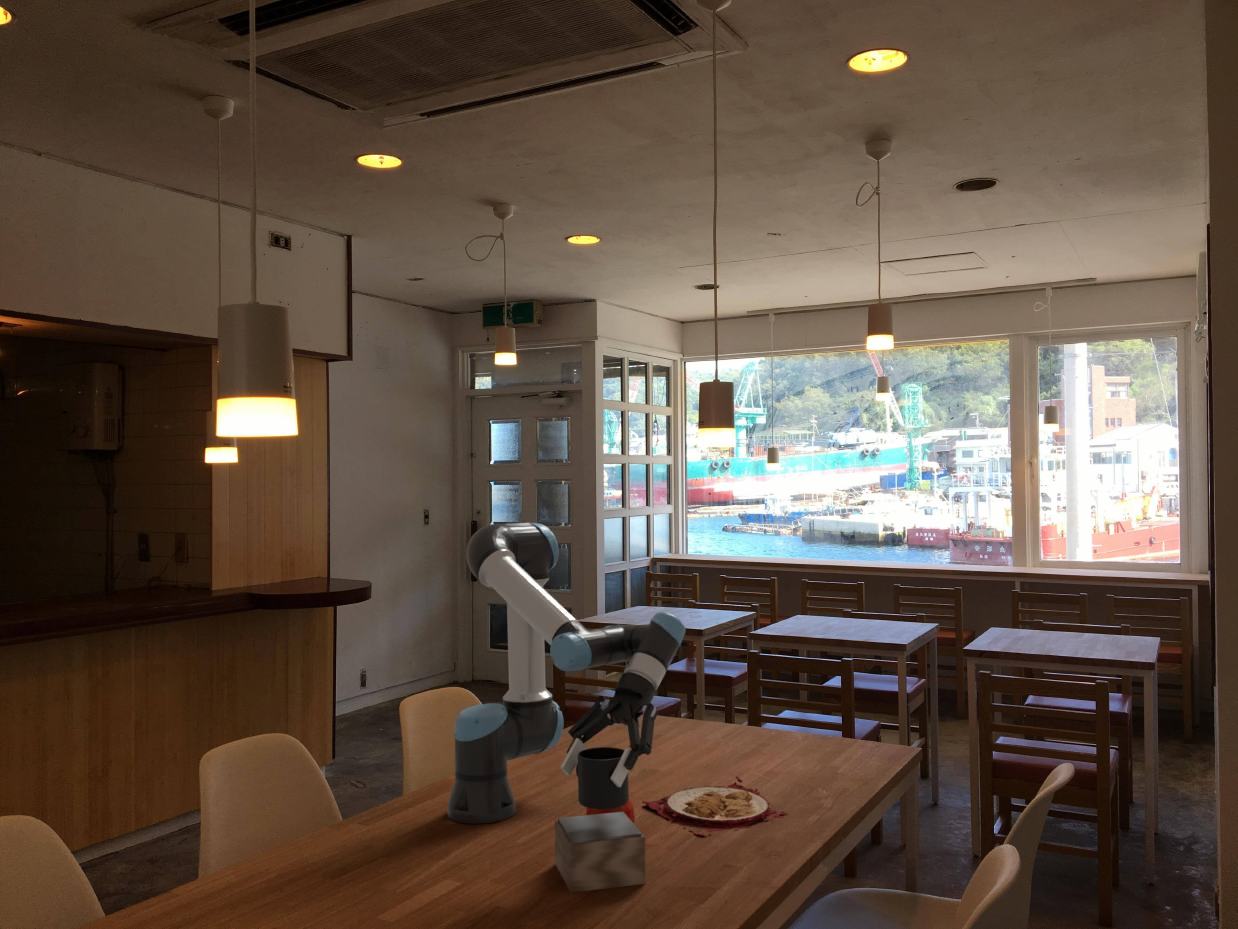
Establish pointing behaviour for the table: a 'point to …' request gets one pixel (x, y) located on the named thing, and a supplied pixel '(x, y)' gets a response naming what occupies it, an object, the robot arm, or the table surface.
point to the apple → (615, 810)
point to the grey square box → (599, 851)
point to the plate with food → (715, 807)
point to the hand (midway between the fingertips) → (589, 777)
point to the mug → (600, 778)
